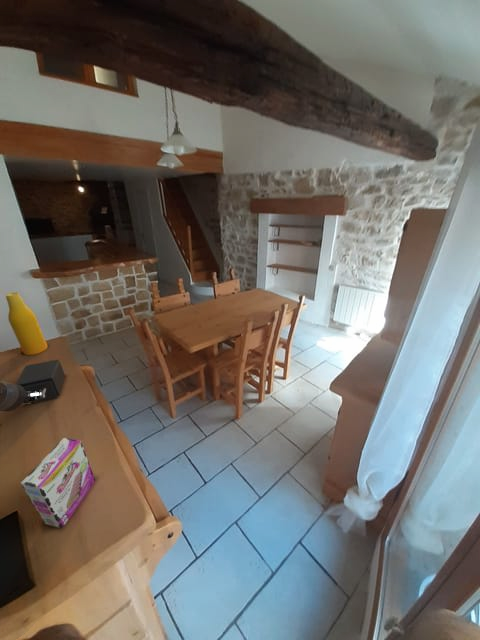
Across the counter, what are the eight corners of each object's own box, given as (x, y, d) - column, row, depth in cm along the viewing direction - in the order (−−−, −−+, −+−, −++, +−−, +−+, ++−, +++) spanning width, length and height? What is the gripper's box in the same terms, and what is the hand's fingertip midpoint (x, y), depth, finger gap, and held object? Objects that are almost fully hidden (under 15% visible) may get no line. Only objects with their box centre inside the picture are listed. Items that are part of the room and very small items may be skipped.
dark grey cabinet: (60, 397, 93) (52, 377, 88) (25, 406, 89) (14, 385, 85) (66, 378, 102) (58, 359, 98) (34, 385, 98) (25, 365, 94)
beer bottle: (36, 358, 114) (10, 299, 101) (19, 355, 116) (-9, 297, 102) (53, 347, 122) (31, 291, 109) (36, 345, 124) (13, 289, 110)
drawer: (54, 406, 88) (47, 389, 84) (21, 414, 84) (12, 397, 81) (62, 380, 100) (56, 364, 96) (34, 386, 96) (26, 370, 93)
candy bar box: (64, 531, 57) (39, 489, 49) (45, 526, 57) (17, 484, 50) (98, 481, 66) (81, 439, 59) (81, 477, 67) (62, 436, 60)
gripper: (30, 376, 71) (55, 385, 87) (-30, 388, 67) (7, 395, 82) (31, 403, 69) (56, 407, 84) (-32, 417, 64) (7, 418, 80)
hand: (32, 401), depth 83 cm, fingers closed
